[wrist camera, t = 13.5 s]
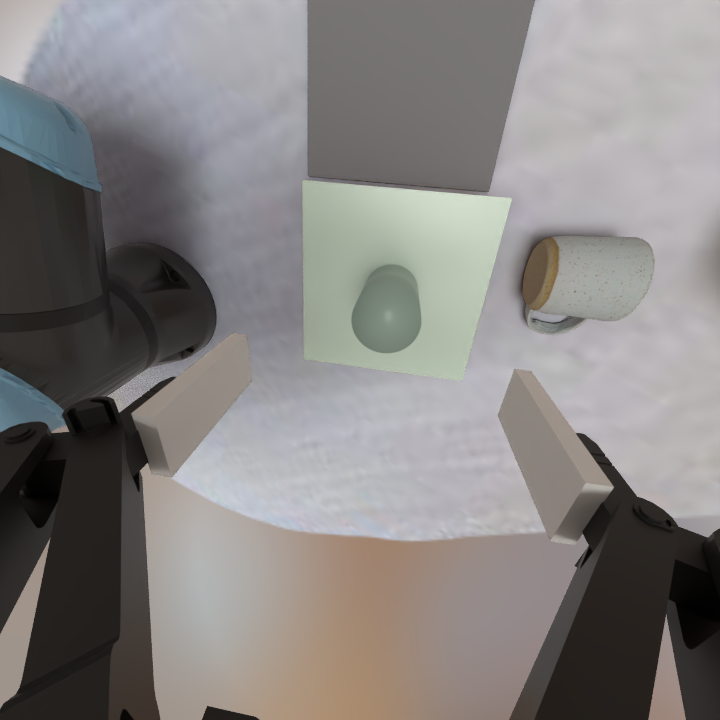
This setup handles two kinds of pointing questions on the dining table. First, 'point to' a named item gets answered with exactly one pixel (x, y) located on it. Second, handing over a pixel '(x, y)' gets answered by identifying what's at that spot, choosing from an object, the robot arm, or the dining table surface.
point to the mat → (411, 88)
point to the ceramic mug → (586, 279)
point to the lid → (396, 275)
